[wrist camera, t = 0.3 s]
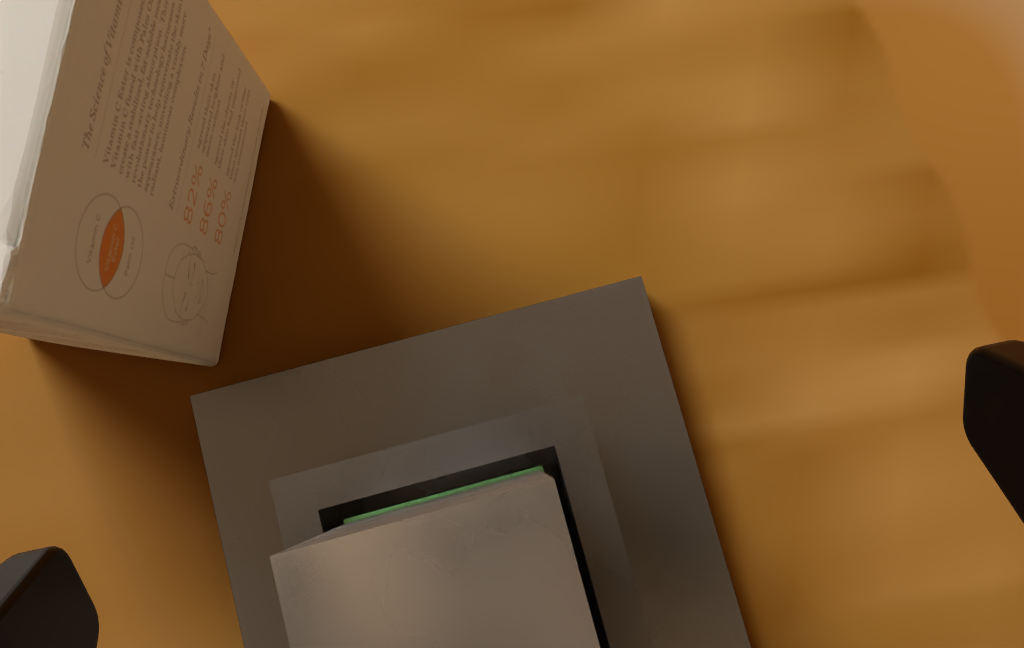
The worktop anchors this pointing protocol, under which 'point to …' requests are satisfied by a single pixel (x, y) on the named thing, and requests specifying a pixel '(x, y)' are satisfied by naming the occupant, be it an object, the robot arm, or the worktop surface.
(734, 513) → the worktop surface
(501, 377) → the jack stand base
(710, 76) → the worktop surface
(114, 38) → the small box
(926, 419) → the worktop surface
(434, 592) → the white tall block
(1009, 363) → the robot arm
